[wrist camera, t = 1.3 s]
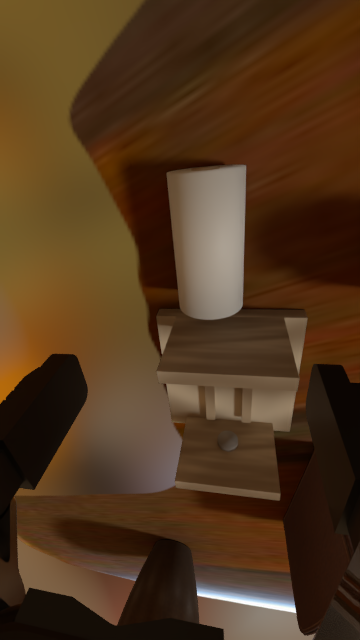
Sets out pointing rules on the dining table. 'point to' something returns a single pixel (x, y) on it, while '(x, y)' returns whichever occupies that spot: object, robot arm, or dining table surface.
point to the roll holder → (231, 395)
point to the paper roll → (208, 238)
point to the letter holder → (313, 550)
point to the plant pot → (164, 587)
